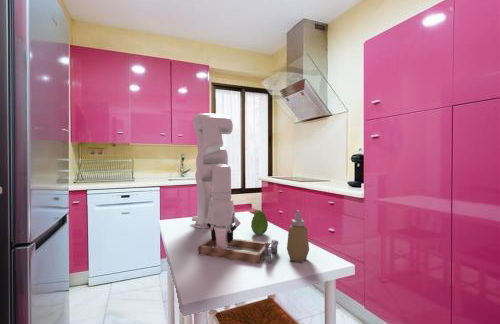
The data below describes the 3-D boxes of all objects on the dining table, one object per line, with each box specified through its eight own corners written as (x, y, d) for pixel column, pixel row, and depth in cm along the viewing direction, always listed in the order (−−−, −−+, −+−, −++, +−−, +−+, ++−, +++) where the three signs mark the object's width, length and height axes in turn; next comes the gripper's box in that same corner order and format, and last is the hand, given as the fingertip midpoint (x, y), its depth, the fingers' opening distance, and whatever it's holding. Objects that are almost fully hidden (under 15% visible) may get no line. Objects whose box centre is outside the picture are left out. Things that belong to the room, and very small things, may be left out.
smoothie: (217, 254, 97) (217, 218, 96) (211, 249, 102) (211, 215, 102) (232, 251, 100) (232, 216, 99) (226, 246, 105) (226, 213, 105)
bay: (198, 254, 97) (198, 246, 97) (214, 243, 109) (214, 236, 109) (259, 263, 89) (259, 255, 88) (269, 250, 101) (269, 243, 101)
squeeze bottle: (304, 265, 87) (304, 214, 86) (283, 260, 91) (283, 211, 91) (312, 257, 94) (312, 209, 93) (291, 253, 98) (291, 207, 97)
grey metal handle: (263, 264, 88) (263, 242, 88) (272, 251, 99) (272, 232, 99) (269, 265, 87) (269, 243, 87) (278, 252, 99) (278, 232, 98)
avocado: (259, 238, 115) (259, 212, 115) (248, 234, 121) (247, 209, 121) (271, 234, 120) (271, 210, 120) (260, 231, 126) (259, 207, 126)
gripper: (197, 196, 100) (198, 241, 100) (238, 198, 94) (238, 246, 94) (207, 193, 107) (207, 235, 107) (245, 195, 101) (245, 240, 101)
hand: (222, 240), depth 101 cm, fingers closed on smoothie, 6 cm apart
